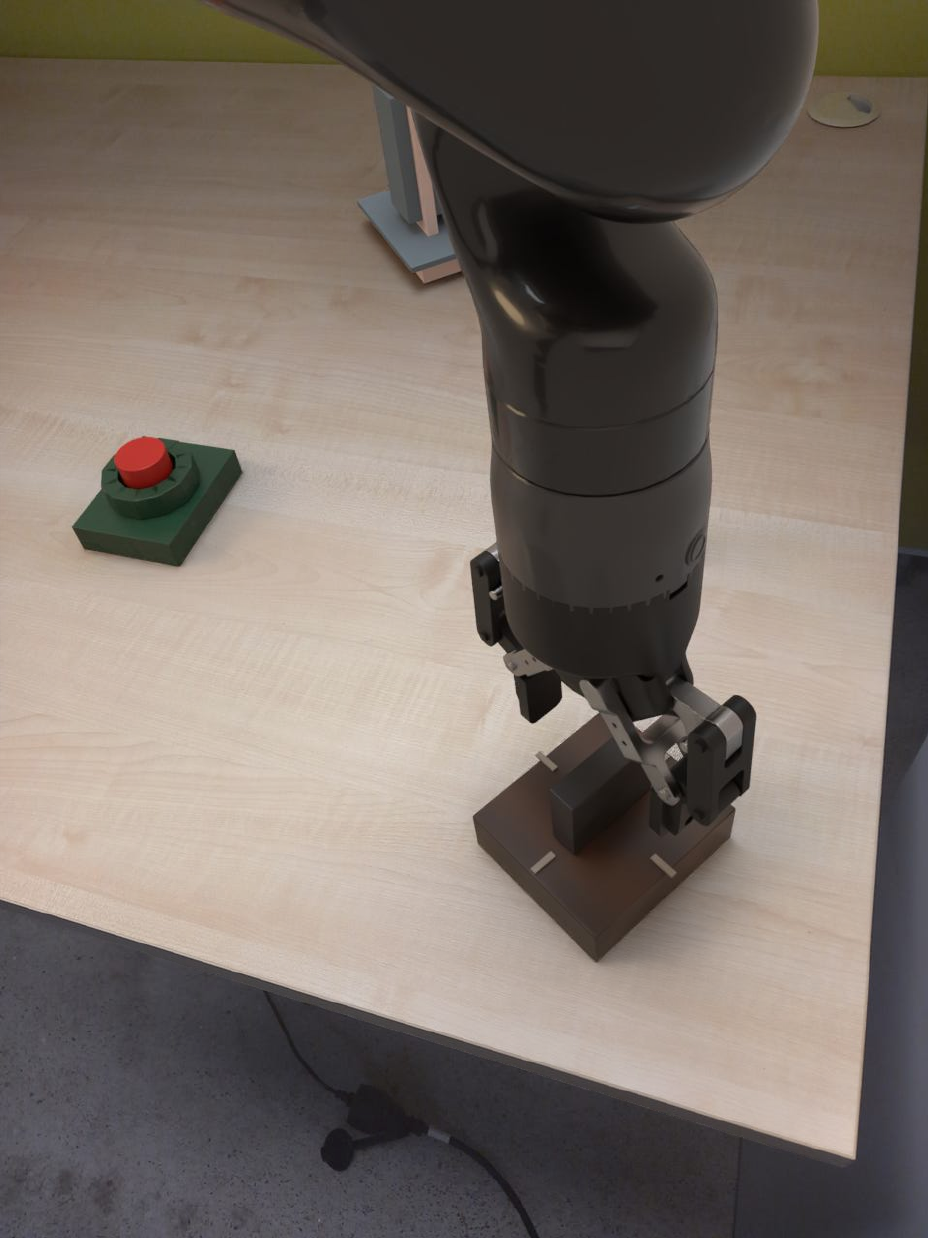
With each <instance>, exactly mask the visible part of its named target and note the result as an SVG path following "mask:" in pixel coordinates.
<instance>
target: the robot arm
mask: <svg viewBox="0 0 928 1238" xmlns="http://www.w3.org/2000/svg"><path fill="white" fill-rule="evenodd" d="M194 1H196V2H197V3H200V4H202V5H204V6H206V7H208V8H210V9H213V10H214V11H216V12H220V13H221V14H222V15H223V14H224V15H226V16H228V17H231V18H233V19H236V20H238V21H241V22H244V23H246V24H249V25H251V26H253V27H256V28H259V29H260V30H263V31H266V32H268V33H271V34H273V35H275V36H278V37H281V38H283V39H285V40H287V41H289V42H292V43H294V44H297V45H299V46H301V47H303V48H306V49H308V50H310V51H313V52H315V53H317V54H319V55H321V56H324V57H325V58H328V59H330V60H332V61H333V62H335V63H338V64H340V65H341V66H343V67H345V68H346V69H348V70H350V71H352V72H353V73H355V74H357V75H358V76H360V77H361V78H362V79H365V80H366V81H368V82H369V83H370V84H371V85H372V84H374V85H375V86H377V87H379V88H380V89H382V90H383V91H385V92H386V93H388V94H389V95H391V96H392V97H394V98H395V99H397V100H398V101H400V102H401V103H403V104H404V105H406V106H408V107H409V108H410V110H411V114H412V118H413V122H414V125H415V129H416V133H417V136H418V140H419V143H420V147H421V150H422V153H423V156H424V160H425V163H426V166H427V169H428V172H429V175H430V179H431V182H432V185H433V188H434V191H435V194H436V197H437V200H438V203H439V206H440V210H441V213H442V216H443V219H444V222H445V225H446V228H447V232H448V235H449V238H450V241H451V244H452V247H453V250H454V253H455V255H456V258H457V260H458V263H459V265H460V268H461V270H462V271H461V273H462V276H463V278H464V280H465V283H466V285H467V288H468V290H469V292H470V295H471V299H472V302H473V306H474V309H475V312H476V315H477V320H478V323H479V328H480V334H481V356H482V357H481V358H482V370H483V371H482V372H483V380H484V388H485V389H484V390H485V396H486V397H485V398H486V404H487V415H488V422H489V431H490V438H491V450H490V451H491V453H490V468H489V485H490V487H489V489H490V501H491V508H492V509H491V510H492V516H493V524H494V530H495V531H494V533H495V541H496V542H494V543H493V544H492V545H490V546H489V547H487V548H486V549H484V550H483V551H482V552H480V553H479V554H477V555H476V556H474V557H473V558H471V559H470V561H469V568H470V569H469V570H470V578H471V579H470V580H471V587H472V589H471V590H472V597H473V598H472V599H473V608H474V616H475V626H476V632H477V634H478V636H479V638H480V640H481V641H482V642H483V643H484V644H485V645H486V646H488V647H491V648H492V647H494V646H495V645H496V644H498V645H499V646H500V647H501V648H502V649H503V650H504V651H505V654H504V655H503V656H502V660H503V664H504V665H505V667H506V669H507V670H508V671H509V672H510V673H511V674H512V675H513V680H514V686H515V687H514V688H515V694H516V697H517V700H518V704H519V712H520V716H522V717H523V718H524V719H525V720H526V721H527V722H528V723H530V724H531V725H534V724H536V723H537V722H539V721H540V720H541V719H543V718H544V717H545V716H546V715H548V714H549V713H550V712H552V710H554V709H555V708H556V707H557V706H559V704H560V703H561V701H562V698H563V687H562V685H563V684H564V685H565V686H566V687H568V689H570V690H571V691H572V692H574V693H576V694H577V695H579V696H581V697H582V698H584V699H585V700H586V702H587V703H588V705H589V707H590V708H591V709H592V710H594V711H596V712H597V713H600V714H601V715H602V717H603V719H604V721H605V723H606V725H607V726H608V728H609V730H610V732H611V734H612V735H613V737H614V739H615V741H616V743H617V745H618V746H619V748H620V750H621V752H622V754H623V756H624V757H625V758H626V759H627V760H629V761H632V762H636V763H639V764H641V766H642V768H643V770H644V771H645V773H646V775H647V777H648V779H649V781H650V782H651V784H652V786H653V787H652V788H651V789H650V807H649V827H650V828H651V829H652V830H653V831H654V832H655V833H657V834H658V835H659V836H660V837H663V836H665V835H666V834H667V833H668V832H671V833H672V834H673V835H674V836H675V835H677V834H679V833H680V832H681V831H682V830H683V829H684V828H685V827H686V826H687V825H688V824H689V823H691V822H692V821H693V820H694V819H695V820H696V821H697V822H698V823H700V824H701V825H703V826H709V825H710V824H712V823H713V822H714V821H715V820H716V819H717V816H718V815H719V814H720V813H722V812H723V811H724V810H725V809H726V808H727V807H728V806H729V805H730V804H731V805H732V803H734V802H735V801H736V800H737V799H738V798H739V797H742V796H743V795H744V794H745V793H746V792H747V791H748V790H750V787H751V778H752V777H751V776H752V766H753V756H754V744H755V743H754V742H755V735H756V726H757V725H756V724H757V712H756V709H755V708H754V706H753V705H752V703H750V701H749V700H748V699H747V698H745V697H743V695H742V696H741V695H740V694H733V695H731V696H730V697H729V698H728V699H727V700H726V701H724V702H723V703H722V704H720V703H719V702H718V701H716V700H715V699H713V698H712V697H710V696H709V695H708V694H706V693H705V692H703V691H702V690H700V689H699V688H698V687H696V686H695V683H694V682H695V678H694V674H693V671H692V669H691V666H690V664H689V660H688V658H687V657H688V656H687V650H688V647H689V644H690V641H691V639H692V636H693V634H694V631H695V630H696V626H697V623H698V619H699V615H700V610H701V603H702V602H701V601H702V593H703V581H704V573H705V571H704V570H705V562H706V551H707V542H708V530H709V523H710V512H711V502H712V494H713V493H712V492H713V490H712V489H713V462H712V461H713V460H712V452H711V440H710V439H711V438H710V431H711V430H710V424H711V420H712V419H711V418H712V408H713V407H712V406H713V395H714V394H713V393H714V385H715V384H714V383H715V376H716V375H715V374H716V364H717V351H718V339H719V337H718V335H719V300H718V291H717V287H716V286H717V285H716V283H715V279H714V277H713V275H712V272H711V270H710V268H709V266H708V265H707V262H706V261H705V260H704V258H703V256H702V254H701V253H700V252H699V250H698V249H697V248H696V247H695V245H694V244H693V243H692V241H690V239H689V238H688V236H686V235H685V233H684V232H683V231H682V230H681V229H680V228H679V226H678V225H677V224H676V223H675V221H678V220H683V219H687V218H690V217H692V216H695V215H698V214H700V213H703V212H705V211H707V210H710V209H712V208H713V207H716V206H718V205H719V204H721V203H723V202H724V201H726V200H728V199H730V198H731V197H732V196H734V195H735V194H736V193H738V192H739V191H741V190H742V189H743V188H744V187H746V186H747V185H748V184H749V183H751V182H752V181H753V180H754V179H755V178H756V177H757V176H758V175H759V174H760V173H761V172H762V171H763V170H764V169H765V168H766V166H768V164H769V163H770V162H771V160H772V159H773V158H774V157H775V156H776V155H777V153H778V152H779V151H780V150H781V147H782V146H783V145H784V143H785V142H786V140H787V139H788V137H789V136H790V134H791V132H792V130H793V128H794V126H795V125H796V123H797V121H798V118H799V116H800V114H801V112H802V109H803V107H804V105H805V102H806V99H807V96H808V94H809V91H810V87H811V84H812V79H813V76H814V71H815V66H816V62H817V61H816V60H817V53H818V46H819V35H820V34H819V32H820V29H819V28H820V26H819V25H820V19H819V18H820V17H819V16H820V15H819V14H820V13H819V1H818V0H194ZM656 717H659V718H657V719H656V720H655V721H654V722H653V723H651V725H649V726H648V727H647V728H646V729H644V730H643V731H642V733H641V734H639V732H638V731H637V729H636V727H637V726H636V725H635V723H636V722H639V721H643V720H648V719H652V718H656ZM675 745H677V747H678V750H679V752H680V754H681V755H682V756H681V758H679V760H677V762H676V763H675V764H674V765H673V766H672V767H671V768H669V767H668V766H667V764H666V762H665V753H666V752H667V753H668V751H669V750H670V749H671V748H673V747H674V746H675Z"/></svg>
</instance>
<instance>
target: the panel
mask: <svg viewBox="0 0 928 1238" xmlns="http://www.w3.org/2000/svg"><path fill="white" fill-rule="evenodd" d="M612 737H613V735H612V734H611V732H610V730H609V728H608V726H607V725H606V723H605V721H604V719H603V717H602V715H601V714H600V713H599V712H597V714H595V715H594V716H593V717H592V718H591V719H589V720H588V721H587V722H585V723H584V724H582V726H581V727H579V728H578V729H577V730H576V731H575V732H573V733H572V734H571V735H569V736H568V737H567V738H566V739H565V740H564V741H562V742H561V743H560V744H559V745H557V746H555V748H554V749H552V750H551V751H550V752H549V753H547V754H544V753H543V752H542V751H541V750H539V751H538V752H537V753H535V754H534V756H535V757H536V758H537V759H538V760H539V761H538V762H537V763H535V764H534V765H532V767H530V768H529V769H528V770H527V771H526V772H523V774H522V775H521V776H519V777H518V778H517V779H516V780H514V781H513V782H512V783H511V784H510V785H509V786H507V787H506V788H505V789H503V790H502V791H500V793H498V795H496V796H495V797H493V798H492V799H491V800H490V801H489V802H487V803H486V804H485V805H484V806H483V807H481V808H480V809H479V810H478V811H477V812H476V813H474V814H472V816H471V817H472V821H473V822H472V823H473V826H474V827H473V828H474V831H475V837H476V842H477V844H478V845H479V846H480V847H481V848H482V849H483V851H485V852H486V853H487V854H488V855H489V856H490V857H491V858H492V860H494V861H495V863H497V864H498V866H500V867H501V868H502V870H504V871H505V872H506V874H508V876H510V877H511V879H512V880H514V882H515V883H516V884H517V885H518V886H519V887H521V889H523V891H524V892H525V893H527V895H528V896H529V897H530V898H531V899H532V900H533V901H534V902H535V903H536V904H537V905H538V906H539V907H540V908H541V909H542V910H543V911H544V912H545V913H546V914H547V915H548V916H549V917H550V918H551V919H552V920H553V921H554V922H555V923H556V924H557V925H558V926H559V927H560V928H561V929H562V930H563V931H564V932H565V933H566V934H567V935H568V936H569V937H570V938H571V939H572V940H573V941H574V943H576V945H578V946H579V947H580V948H581V949H582V951H584V952H585V953H586V955H588V956H589V957H590V958H591V959H592V961H594V962H595V963H598V962H599V961H600V960H601V959H603V957H604V956H605V955H606V954H607V953H609V951H610V950H612V949H613V948H614V947H615V946H616V945H617V944H618V943H619V942H620V941H621V940H622V939H623V938H624V937H626V936H627V935H628V934H629V933H630V932H631V931H632V930H633V929H634V928H635V927H636V926H637V925H638V924H639V923H640V922H641V921H643V919H645V918H646V917H647V916H648V915H649V914H650V913H651V912H652V911H653V910H654V909H655V908H657V906H659V905H660V904H661V903H662V902H663V901H664V900H665V899H666V898H667V897H668V896H669V895H670V894H672V892H673V891H674V890H675V889H676V888H678V887H679V886H680V885H681V884H682V883H683V882H684V881H685V880H687V878H688V877H689V876H690V875H692V874H693V872H695V871H696V870H697V869H698V868H699V867H700V866H701V865H703V863H705V861H707V860H708V859H709V858H710V857H711V856H712V855H713V854H714V853H715V852H716V851H717V850H718V849H719V848H720V847H722V845H723V844H725V843H726V842H727V841H728V840H729V839H730V838H731V836H732V831H733V826H734V822H735V815H736V810H737V809H736V807H735V806H733V805H732V803H731V804H730V805H729V806H728V807H727V808H726V809H725V810H724V811H723V812H722V813H720V814H719V815H718V816H717V819H716V820H715V821H714V822H713V823H712V824H710V825H709V826H703V825H701V824H700V823H698V822H697V821H696V820H695V819H694V820H693V821H692V822H691V823H689V824H688V825H687V826H686V827H685V828H684V829H683V830H682V831H681V832H680V833H679V834H677V835H675V836H674V835H673V834H672V833H671V832H668V833H667V834H666V835H665V836H663V837H660V836H659V835H658V834H657V833H655V832H654V831H653V830H652V829H651V828H650V827H649V807H650V790H649V791H647V792H646V793H645V794H644V795H643V796H642V797H641V798H639V799H638V800H637V801H636V802H635V803H634V804H633V805H631V806H630V807H629V808H628V809H627V810H626V811H625V812H623V813H622V814H621V815H620V816H619V817H618V818H617V819H616V820H614V821H613V822H612V823H611V824H610V825H609V826H608V827H606V828H605V829H604V830H603V831H602V832H601V833H600V834H598V835H597V836H596V837H595V838H594V839H593V840H592V841H590V842H589V843H588V844H587V845H586V846H585V847H584V848H582V849H581V850H580V851H579V852H578V853H577V854H576V855H574V854H573V853H572V852H571V851H570V850H569V849H568V848H566V847H565V846H564V845H563V844H562V843H561V842H560V841H559V840H558V839H557V838H556V837H555V836H554V835H553V828H552V816H551V804H550V792H549V790H550V789H551V788H552V787H553V786H554V785H555V784H557V783H558V782H559V781H560V780H561V779H563V778H564V777H565V776H566V775H567V774H569V773H570V772H571V771H572V770H573V769H575V768H576V767H577V766H578V765H579V764H581V763H582V762H583V761H584V760H585V759H587V758H588V757H589V756H590V755H591V754H593V753H594V752H595V751H596V750H597V749H599V748H600V747H601V746H602V745H603V744H605V743H606V742H607V741H608V740H609V739H611V738H612ZM677 761H678V760H676V758H674V757H673V756H672V755H671V754H669V752H668V751H667V752H666V753H665V762H666V764H667V766H668V767H669V768H671V767H672V766H673V765H674V764H675V763H676V762H677ZM652 787H653V786H652V784H651V788H652Z"/></svg>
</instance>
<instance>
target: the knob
mask: <svg viewBox="0 0 928 1238" xmlns="http://www.w3.org/2000/svg"><path fill="white" fill-rule="evenodd" d="M635 727H636V729H637V731H638V732H639V734H641V733H642V732H643V731H641V730H640V728H638V727H637V726H635ZM650 789H651V782H650V781H649V779H648V777H647V775H646V773H645V771H644V770H643V768H642V766H641V764H639V763H636V762H632V761H629V760H627V759H626V758H625V757H624V756H623V754H622V752H621V750H620V748H619V746H618V745H617V743H616V741H615V739H614V737H612V738H611V739H609V740H608V741H607V742H606V743H605V744H603V745H602V746H601V747H600V748H599V749H597V750H596V751H595V752H594V753H593V754H591V755H590V756H589V757H588V758H587V759H585V760H584V761H583V762H582V763H581V764H579V765H578V766H577V767H576V768H575V769H573V770H572V771H571V772H570V773H569V774H567V775H566V776H565V777H564V778H563V779H561V780H560V781H559V782H558V783H557V784H555V785H554V786H553V787H552V788H551V789H550V790H549V792H550V804H551V816H552V828H553V835H554V836H555V837H556V838H557V839H558V840H559V841H560V842H561V843H562V844H563V845H564V846H565V847H566V848H568V849H569V850H570V851H571V852H572V853H573V854H574V855H576V854H577V853H578V852H579V851H580V850H581V849H582V848H584V847H585V846H586V845H587V844H588V843H589V842H590V841H592V840H593V839H594V838H595V837H596V836H597V835H598V834H600V833H601V832H602V831H603V830H604V829H605V828H606V827H608V826H609V825H610V824H611V823H612V822H613V821H614V820H616V819H617V818H618V817H619V816H620V815H621V814H622V813H623V812H625V811H626V810H627V809H628V808H629V807H630V806H631V805H633V804H634V803H635V802H636V801H637V800H638V799H639V798H641V797H642V796H643V795H644V794H645V793H646V792H647V791H649V790H650Z"/></svg>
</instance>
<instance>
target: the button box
mask: <svg viewBox="0 0 928 1238" xmlns="http://www.w3.org/2000/svg"><path fill="white" fill-rule="evenodd" d="M141 437H147V436H145V435H142V436H141ZM156 438H157V439H159V440H161V441H162V442H163V443H164V445H165V447H166V450H167V452H168V454H169V457H170V459H171V461H172V464H173V468H172V472H171V474H170V475H169V477H168V478H167V479H165V480H164V481H162V482H160V483H159V484H157V485H155V486H153V487H149V488H144V489H134V488H131V487H129V486H127V485H126V484H125V483H124V481H123V479H122V477H121V475H120V473H119V471H118V469H117V467H116V465H115V462H114V458H115V454H116V453H114V454H113V455H112V457H111V458H110V459H109V461H108V462H107V463H106V464H105V465H104V466H103V468H102V470H101V476H100V490H99V491H98V492H97V494H96V495H95V496H94V497H93V499H92V500H91V502H90V503H89V504H88V505H87V506H86V508H85V509H84V511H82V513H81V514H80V516H79V517H78V518H77V520H76V521H75V522H74V523H73V525H71V528H72V530H73V532H74V534H75V535H76V537H77V539H78V540H79V543H80V544H81V546H82V548H83V549H86V550H91V551H95V552H96V551H97V552H102V553H107V554H113V555H117V556H123V557H128V558H134V559H139V560H143V561H148V562H154V563H160V564H166V565H168V566H169V565H170V566H174V567H180V566H181V564H182V563H183V561H184V560H185V559H186V557H187V555H188V554H189V552H190V551H191V550H192V548H193V547H194V545H195V544H196V542H197V540H198V539H199V537H200V536H201V534H202V533H203V531H204V530H205V528H206V527H207V525H209V522H210V521H211V520H212V518H213V516H214V515H215V514H216V512H217V511H218V509H219V507H220V506H221V504H222V503H223V502H224V500H225V499H226V497H227V496H228V494H229V493H230V491H231V490H232V488H233V487H234V485H235V483H236V482H237V480H238V479H239V477H240V476H241V475H242V474H243V469H242V467H241V464H240V461H239V458H238V456H237V453H236V450H235V449H232V448H224V447H219V446H211V445H205V444H197V443H191V442H184V441H180V440H176V439H169V438H164V437H163V438H162V437H156Z"/></svg>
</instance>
